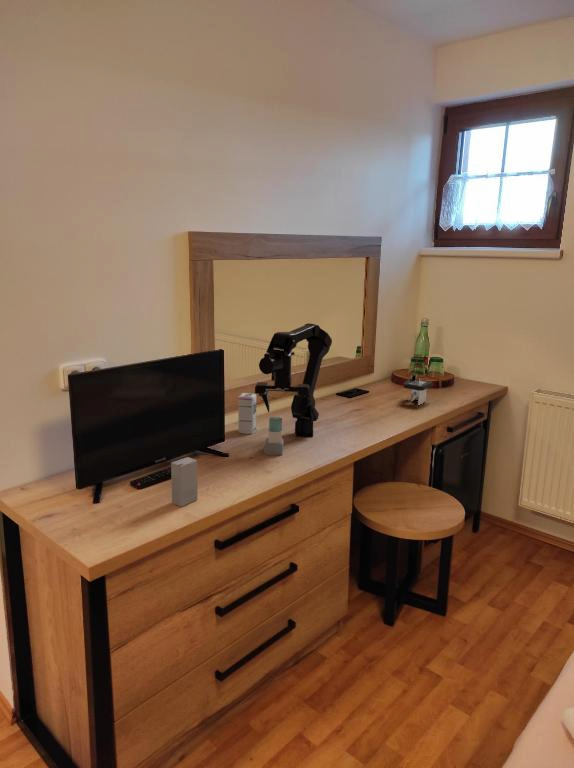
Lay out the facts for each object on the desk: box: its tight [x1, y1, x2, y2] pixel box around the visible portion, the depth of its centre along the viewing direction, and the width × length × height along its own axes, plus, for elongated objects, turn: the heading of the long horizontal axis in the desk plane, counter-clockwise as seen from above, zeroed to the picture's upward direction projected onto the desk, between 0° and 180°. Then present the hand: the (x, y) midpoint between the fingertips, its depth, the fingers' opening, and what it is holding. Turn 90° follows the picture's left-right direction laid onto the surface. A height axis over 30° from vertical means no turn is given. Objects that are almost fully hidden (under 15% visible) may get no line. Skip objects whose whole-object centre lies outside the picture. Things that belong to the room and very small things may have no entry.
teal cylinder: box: [268, 416, 283, 432], centre depth 199 cm, size 4×4×4 cm
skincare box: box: [170, 456, 198, 507], centre depth 159 cm, size 6×4×12 cm
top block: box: [267, 430, 283, 443], centre depth 200 cm, size 4×4×4 cm
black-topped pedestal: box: [403, 373, 433, 406], centre depth 266 cm, size 28×26×13 cm
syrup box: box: [237, 392, 257, 435], centre depth 219 cm, size 6×6×14 cm
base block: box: [264, 437, 285, 456], centre depth 201 cm, size 6×6×4 cm
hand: (281, 412), depth 204 cm, fingers open, 9 cm apart
